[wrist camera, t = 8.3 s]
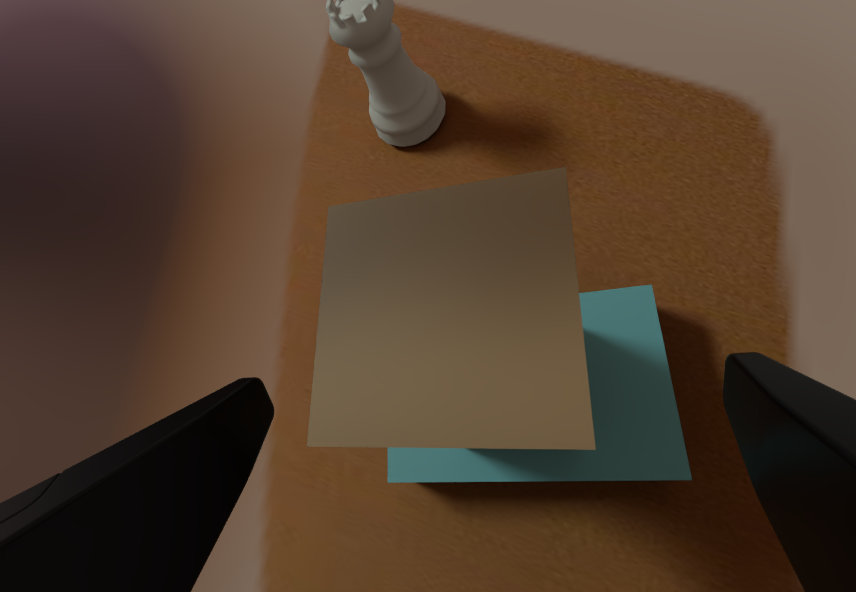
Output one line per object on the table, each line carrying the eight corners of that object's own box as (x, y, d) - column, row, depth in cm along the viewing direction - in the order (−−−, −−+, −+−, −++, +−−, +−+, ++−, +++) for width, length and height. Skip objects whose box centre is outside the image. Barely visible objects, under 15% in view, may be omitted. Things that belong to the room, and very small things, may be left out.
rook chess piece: (388, 89, 28) (323, -35, 21) (455, 87, 26) (410, -48, 19) (369, 150, 27) (293, 42, 20) (438, 152, 25) (383, 35, 18)
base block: (676, 475, 17) (692, 480, 15) (408, 478, 20) (387, 482, 18) (642, 303, 19) (651, 284, 17) (406, 329, 22) (388, 316, 20)
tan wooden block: (583, 446, 16) (596, 449, 6) (460, 445, 17) (306, 446, 7) (571, 324, 18) (565, 166, 8) (459, 332, 19) (328, 206, 9)
